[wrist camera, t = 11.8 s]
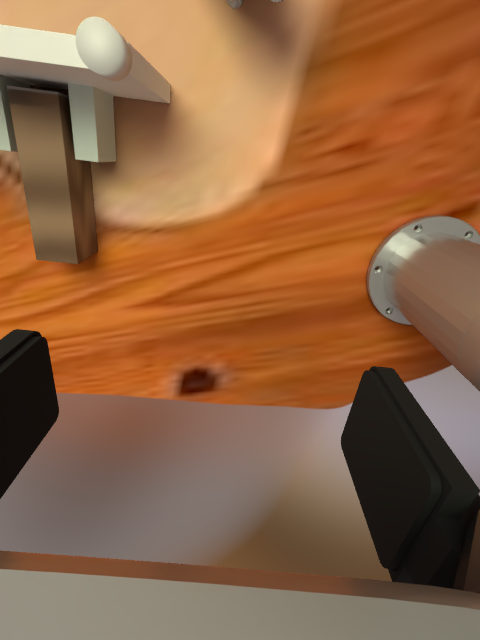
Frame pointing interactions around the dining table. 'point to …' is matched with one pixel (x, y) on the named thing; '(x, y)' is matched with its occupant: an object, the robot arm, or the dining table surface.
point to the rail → (53, 176)
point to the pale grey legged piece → (78, 80)
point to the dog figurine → (236, 2)
